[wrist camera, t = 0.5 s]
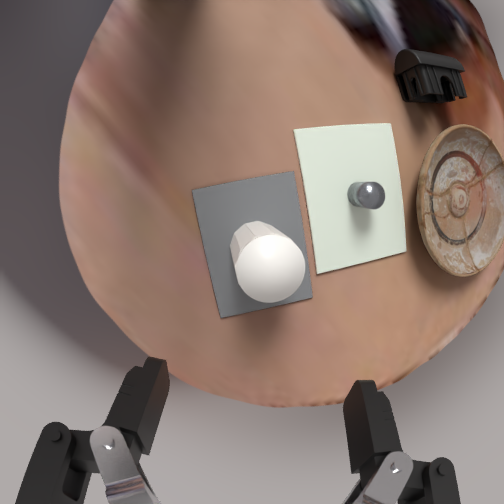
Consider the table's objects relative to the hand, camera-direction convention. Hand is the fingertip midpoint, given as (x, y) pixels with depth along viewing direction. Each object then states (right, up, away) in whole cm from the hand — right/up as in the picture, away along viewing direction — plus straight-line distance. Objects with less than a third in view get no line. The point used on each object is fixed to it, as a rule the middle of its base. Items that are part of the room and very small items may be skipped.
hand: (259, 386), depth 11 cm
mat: (0, +6, +24) cm, 25 cm away
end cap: (+25, +31, +22) cm, 45 cm away
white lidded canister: (0, +6, +24) cm, 24 cm away
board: (+13, +13, +24) cm, 30 cm away
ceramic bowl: (+32, +14, +26) cm, 44 cm away
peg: (+13, +13, +24) cm, 30 cm away
